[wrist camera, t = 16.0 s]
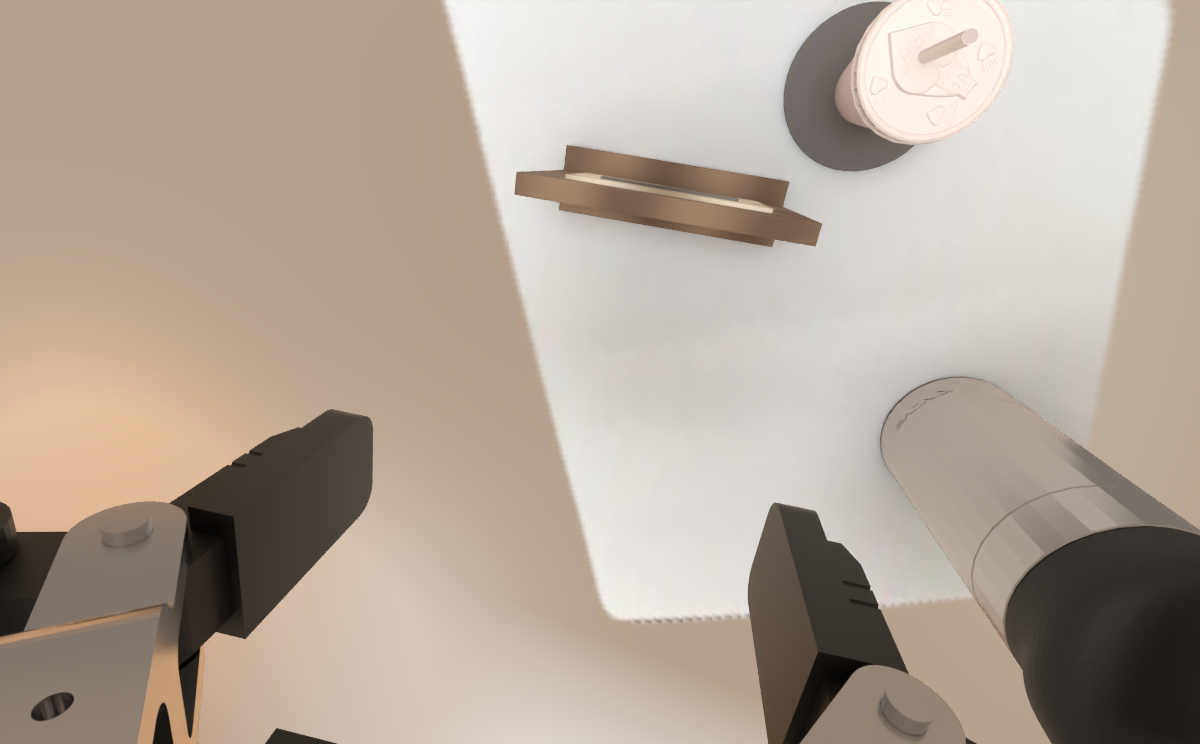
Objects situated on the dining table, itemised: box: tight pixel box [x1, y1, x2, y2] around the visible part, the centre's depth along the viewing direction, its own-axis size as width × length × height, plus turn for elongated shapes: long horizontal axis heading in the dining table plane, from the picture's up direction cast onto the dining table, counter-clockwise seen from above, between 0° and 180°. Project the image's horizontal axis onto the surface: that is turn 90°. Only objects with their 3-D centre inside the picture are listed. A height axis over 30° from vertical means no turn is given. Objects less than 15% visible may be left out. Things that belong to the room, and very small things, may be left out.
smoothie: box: [835, 0, 1014, 145], centre depth 27 cm, size 6×6×14 cm
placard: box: [515, 145, 822, 247], centre depth 32 cm, size 14×4×12 cm, turn 81°
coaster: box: [784, 2, 914, 171], centre depth 34 cm, size 9×9×1 cm
